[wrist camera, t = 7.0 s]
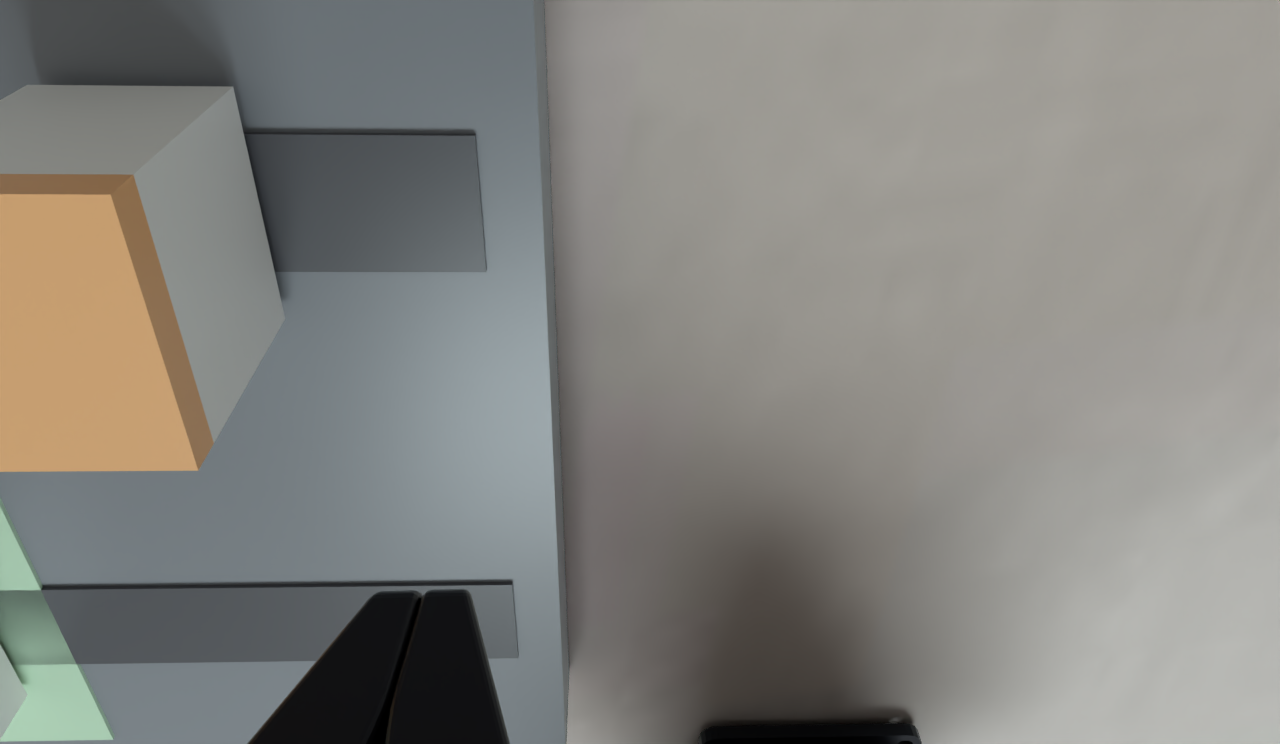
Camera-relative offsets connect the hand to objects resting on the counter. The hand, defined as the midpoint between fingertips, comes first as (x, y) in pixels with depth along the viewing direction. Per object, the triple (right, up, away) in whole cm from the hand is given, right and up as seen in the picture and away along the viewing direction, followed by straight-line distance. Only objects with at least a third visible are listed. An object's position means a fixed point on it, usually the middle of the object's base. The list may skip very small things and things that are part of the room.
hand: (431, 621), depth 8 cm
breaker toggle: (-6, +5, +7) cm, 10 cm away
